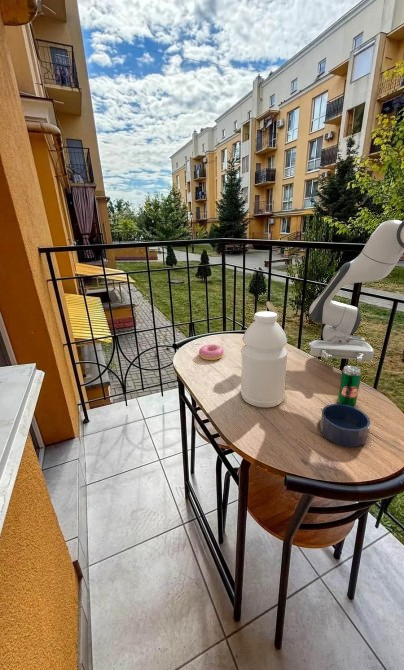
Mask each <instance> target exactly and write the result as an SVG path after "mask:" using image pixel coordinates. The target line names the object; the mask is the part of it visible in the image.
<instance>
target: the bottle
mask: <svg viewBox="0 0 404 670" xmlns="http://www.w3.org/2000/svg"><path fill="white" fill-rule="evenodd" d="M253 320H254V321H253V322H251V324H250V325H249V326H248V327H247V328H246V330H245V332H244V333H243V335H242V338H241V339H242V342H243V344H244V345H243V346H242V348H241V349H240V356H241V357H240V359H241V361H240V363H241V365H240V368H241V369H240V395H241V398H242V399H243V400H244V401H245V402H246V403H247V404H249V405H251V406H253V407H257V408H273V407H276V406H278V405H280V404H281V403H282V402H283V401H284V399H285V393H286V391H285V390H286V389H285V388H286V387H285V386H286V376H287V375H286V374H287V361H288V355H289V354H288V350H287V348H286V347H285V346H286V345H287V344H288V338H287V335H286V332H285V331H284V329H283V327H282V326H281V325H280V324H279V323H278V322H277V321H278V318H277V314H276V313H274V312H270V311H269V310H260V311H257V312H255V313H254V314H253Z"/></svg>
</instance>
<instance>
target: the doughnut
mask: <svg viewBox="0 0 404 670" xmlns="http://www.w3.org/2000/svg"><path fill="white" fill-rule="evenodd" d="M224 354H225V350H224V348H223V347H222V346H221V345H218V344H214V343H213V344H205V345H203V346H201V347H200V348H199V349H198V355H199V357H200V358H201V359H203V360H205V361H217V360H219V359H221V358H222V357H223V356H224Z"/></svg>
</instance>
